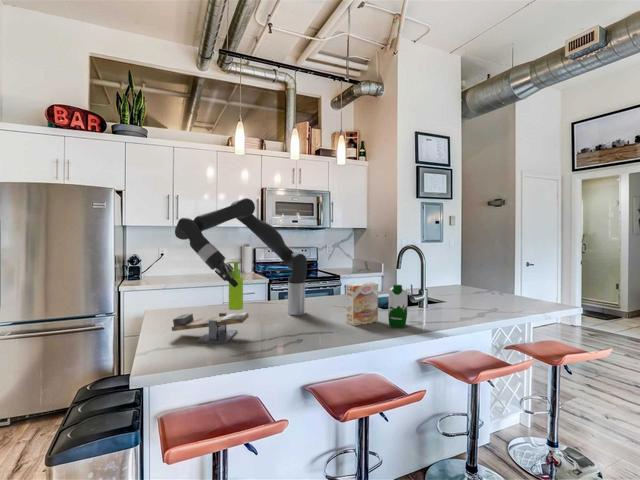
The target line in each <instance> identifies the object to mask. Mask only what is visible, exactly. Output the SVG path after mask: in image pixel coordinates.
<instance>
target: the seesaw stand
mask: <svg viewBox="0 0 640 480" xmlns="http://www.w3.org/2000/svg"><path fill="white" fill-rule="evenodd" d="M226 315H227V312H219V313H218V317H220V316H226ZM227 327H228V325H220V326H217V320H209V327H208V331H207V332H206V333H204V334H203V335H202V336H201V337H199V338H198V339H197V340H196V343H197V344H211V345H212V344H213V345H214V344H217V345H220V344H221V345H226V344H227V343H228V342H229V341H230V340H232V338H233V337H234V336H235V335H236V334H237V333H238V329H228V328H227Z"/></svg>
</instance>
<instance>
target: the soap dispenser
mask: <svg viewBox="0 0 640 480" xmlns="http://www.w3.org/2000/svg"><path fill="white" fill-rule="evenodd" d="M240 263H241V262H240V261H234V260H233V261H227V262H226V264H233V268H234V269H232V278H233V279H234V280H235V281H236V282H237V283H238V285H237V286H236V287H233V286H232V285H231V284H230V283H229V282H228V310H231V311H240V310H243V308H244V277H242V276H241V268H240V269H239V265H240Z"/></svg>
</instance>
